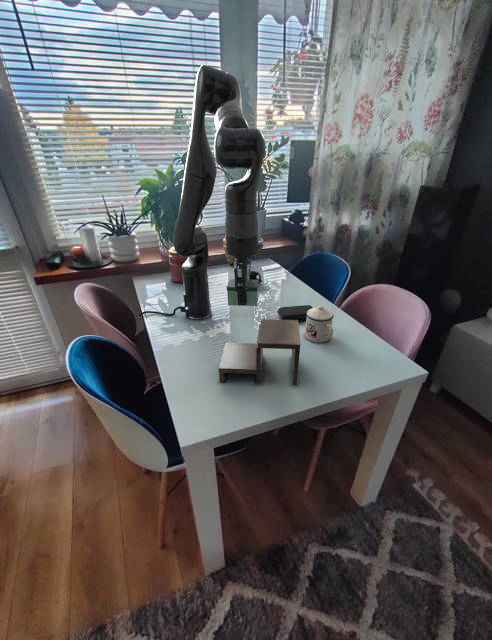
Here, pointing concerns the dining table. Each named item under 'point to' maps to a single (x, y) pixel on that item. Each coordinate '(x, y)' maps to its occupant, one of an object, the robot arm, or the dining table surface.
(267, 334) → the shelf riser
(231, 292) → the box
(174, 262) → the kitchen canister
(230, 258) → the cat ice cream
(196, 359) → the dining table surface
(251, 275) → the pottery mug
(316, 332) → the teacup with lid
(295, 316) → the carrying case
